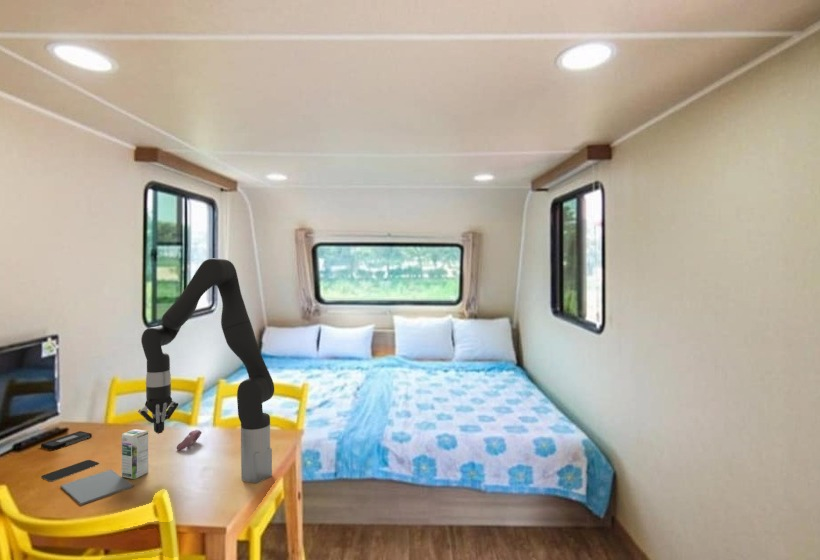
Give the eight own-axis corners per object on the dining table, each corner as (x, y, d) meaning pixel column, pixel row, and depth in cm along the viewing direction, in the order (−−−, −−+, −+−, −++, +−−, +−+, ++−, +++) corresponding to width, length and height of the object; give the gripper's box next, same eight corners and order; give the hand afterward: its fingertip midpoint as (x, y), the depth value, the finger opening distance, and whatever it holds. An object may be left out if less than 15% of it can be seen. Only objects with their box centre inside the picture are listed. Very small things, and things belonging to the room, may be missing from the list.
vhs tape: (92, 438, 185) (91, 433, 185) (53, 451, 171) (53, 446, 171) (80, 435, 188) (80, 431, 188) (41, 448, 174) (40, 443, 174)
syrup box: (121, 477, 150) (120, 434, 149) (136, 469, 155) (135, 428, 155) (134, 479, 148) (133, 436, 147) (149, 472, 153) (148, 429, 153)
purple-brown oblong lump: (185, 455, 171) (193, 438, 171) (174, 449, 171) (182, 433, 171) (198, 444, 181) (205, 429, 181) (187, 439, 181) (195, 424, 181)
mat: (133, 486, 143) (133, 484, 143) (80, 505, 132) (80, 503, 132) (110, 471, 154) (110, 469, 154) (60, 487, 143) (60, 485, 143)
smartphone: (100, 463, 160) (51, 480, 146) (100, 465, 160) (51, 483, 146) (88, 459, 163) (39, 476, 150) (88, 461, 163) (39, 478, 150)
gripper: (142, 389, 149) (143, 441, 150) (183, 381, 160) (183, 429, 160) (133, 385, 154) (133, 435, 155) (173, 378, 164) (173, 425, 165)
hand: (159, 432), depth 157 cm, fingers closed
